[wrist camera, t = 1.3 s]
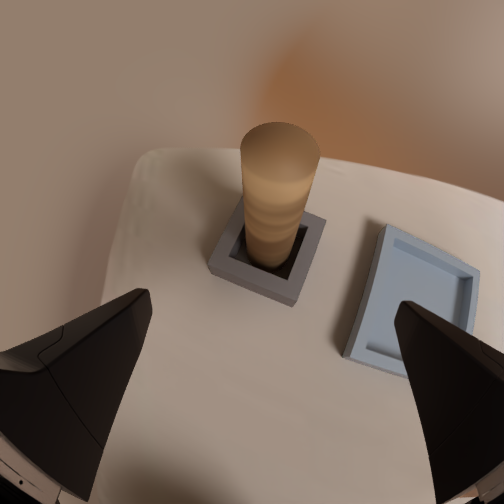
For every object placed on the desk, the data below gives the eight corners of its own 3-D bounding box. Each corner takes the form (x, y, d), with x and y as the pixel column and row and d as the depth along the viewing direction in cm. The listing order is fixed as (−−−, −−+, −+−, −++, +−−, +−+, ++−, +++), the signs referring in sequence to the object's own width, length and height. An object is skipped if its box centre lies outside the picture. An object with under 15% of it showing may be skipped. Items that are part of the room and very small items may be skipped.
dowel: (279, 279, 23) (306, 192, 11) (240, 263, 24) (226, 164, 12) (294, 242, 24) (328, 136, 12) (256, 227, 25) (258, 114, 13)
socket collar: (292, 307, 22) (296, 301, 20) (211, 273, 23) (207, 264, 21) (320, 232, 25) (326, 220, 22) (246, 204, 26) (245, 189, 23)
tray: (446, 389, 19) (458, 390, 17) (341, 357, 21) (349, 357, 19) (468, 276, 23) (480, 270, 21) (378, 233, 25) (387, 223, 23)
